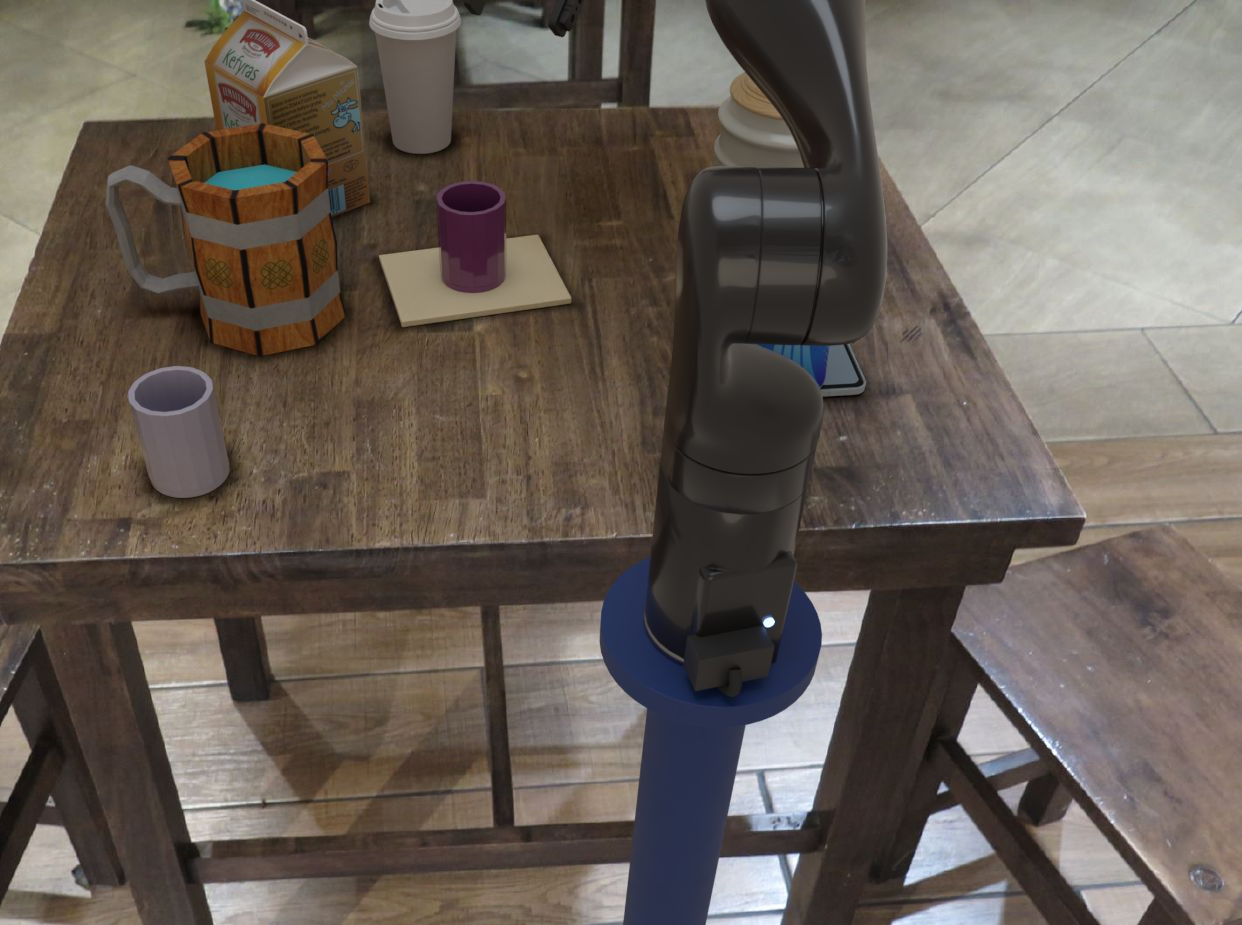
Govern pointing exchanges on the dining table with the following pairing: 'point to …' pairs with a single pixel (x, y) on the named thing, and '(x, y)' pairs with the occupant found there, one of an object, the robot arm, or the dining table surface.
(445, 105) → the coffee cup
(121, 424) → the dining table surface
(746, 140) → the jar
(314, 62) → the milk carton
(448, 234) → the plum cup
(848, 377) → the smartphone
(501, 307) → the placemat
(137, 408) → the grey cup
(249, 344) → the mug
